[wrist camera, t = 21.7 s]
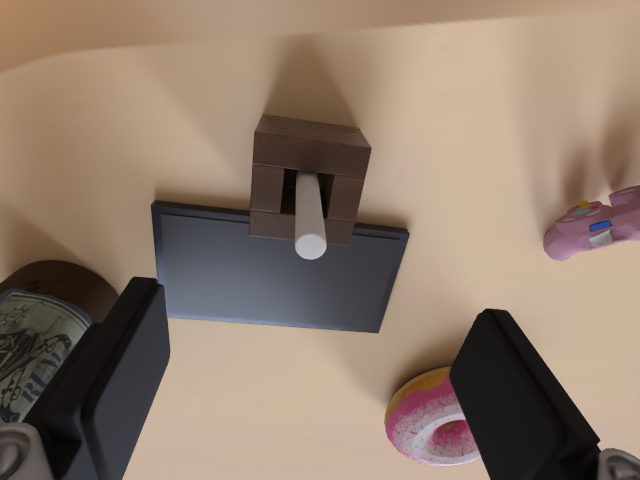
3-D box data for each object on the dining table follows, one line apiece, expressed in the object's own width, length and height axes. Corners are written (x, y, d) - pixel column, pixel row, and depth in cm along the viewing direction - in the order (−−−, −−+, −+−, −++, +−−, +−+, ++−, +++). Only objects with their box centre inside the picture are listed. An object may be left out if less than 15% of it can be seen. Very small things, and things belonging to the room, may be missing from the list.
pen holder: (262, 114, 24) (254, 131, 20) (359, 128, 25) (371, 147, 21) (256, 204, 28) (248, 236, 23) (342, 214, 28) (349, 246, 24)
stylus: (297, 151, 26) (296, 231, 15) (316, 154, 26) (328, 234, 15) (295, 170, 26) (293, 258, 16) (314, 172, 26) (323, 261, 16)
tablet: (154, 200, 27) (149, 205, 26) (407, 228, 29) (410, 234, 28) (164, 310, 32) (160, 317, 31) (376, 326, 35) (378, 334, 34)
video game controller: (644, 166, 29) (729, 155, 22) (663, 217, 29) (753, 221, 22) (523, 213, 31) (567, 216, 24) (542, 261, 31) (592, 278, 24)
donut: (524, 386, 41) (550, 428, 36) (439, 443, 46) (453, 486, 41) (443, 338, 36) (463, 380, 32) (359, 408, 41) (366, 452, 37)
